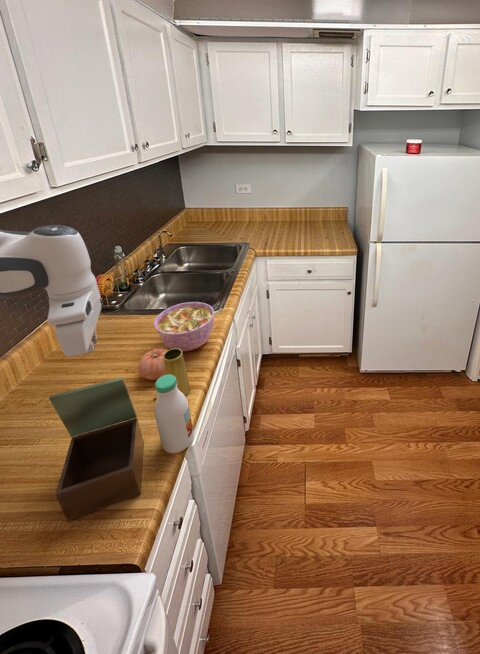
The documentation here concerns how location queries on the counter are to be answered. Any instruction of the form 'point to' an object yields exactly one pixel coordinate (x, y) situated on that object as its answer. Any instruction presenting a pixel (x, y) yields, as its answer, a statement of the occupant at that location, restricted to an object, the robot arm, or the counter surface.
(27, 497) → the counter surface
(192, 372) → the counter surface
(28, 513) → the counter surface
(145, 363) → the orange pumpkin
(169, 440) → the milk bottle
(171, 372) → the vase
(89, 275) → the robot arm
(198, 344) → the bowl of food
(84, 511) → the box
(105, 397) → the lid
